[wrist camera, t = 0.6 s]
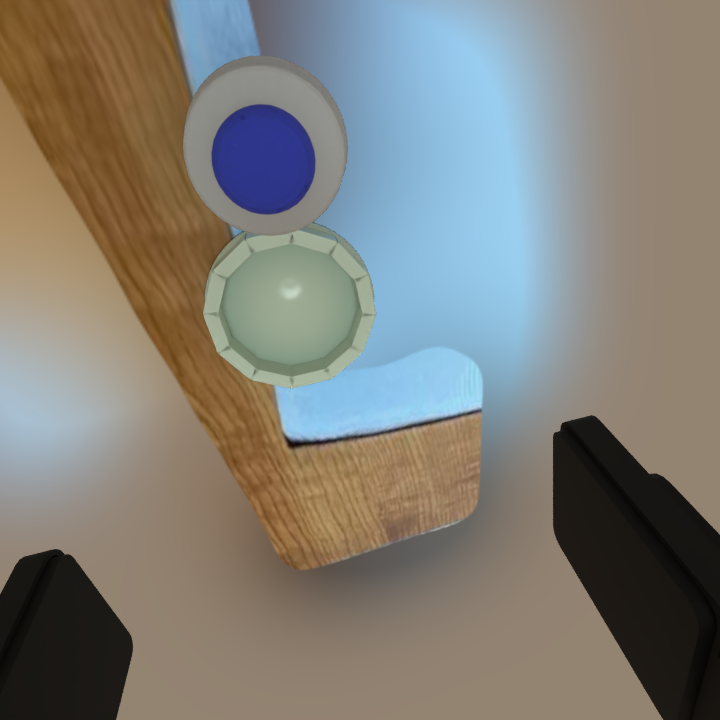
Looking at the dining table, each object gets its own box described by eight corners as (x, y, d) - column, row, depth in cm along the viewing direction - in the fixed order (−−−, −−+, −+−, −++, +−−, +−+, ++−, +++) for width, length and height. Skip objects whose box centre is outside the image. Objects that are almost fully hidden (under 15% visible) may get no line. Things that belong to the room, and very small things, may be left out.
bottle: (222, 59, 31) (145, 18, 14) (331, 80, 33) (388, 66, 15) (217, 173, 34) (150, 260, 17) (317, 188, 36) (352, 284, 18)
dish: (180, 241, 36) (173, 251, 34) (354, 200, 36) (359, 207, 34) (236, 390, 42) (234, 406, 40) (385, 354, 42) (390, 367, 40)
